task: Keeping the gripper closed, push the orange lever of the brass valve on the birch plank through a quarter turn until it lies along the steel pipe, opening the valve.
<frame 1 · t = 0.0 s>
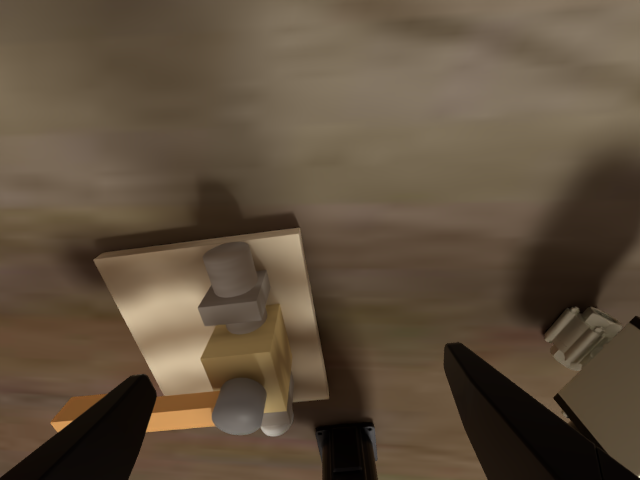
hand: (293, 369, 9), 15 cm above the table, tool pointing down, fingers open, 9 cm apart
valve lever: (165, 413, 20), point 8 cm above the table, hinge at 0.0°
pneumatic valve: (570, 324, 27), on the table
valve plank: (229, 328, 27), on the table
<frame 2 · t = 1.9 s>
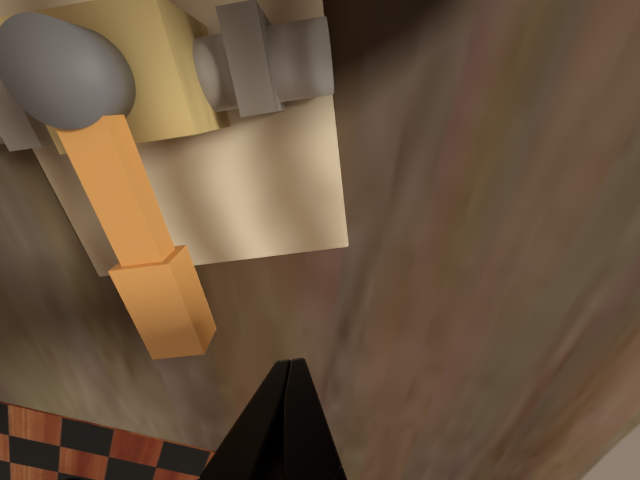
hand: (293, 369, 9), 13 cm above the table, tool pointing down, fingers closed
valve lever: (133, 219, 12), point 8 cm above the table, hinge at 0.0°
valve plank: (191, 141, 18), on the table
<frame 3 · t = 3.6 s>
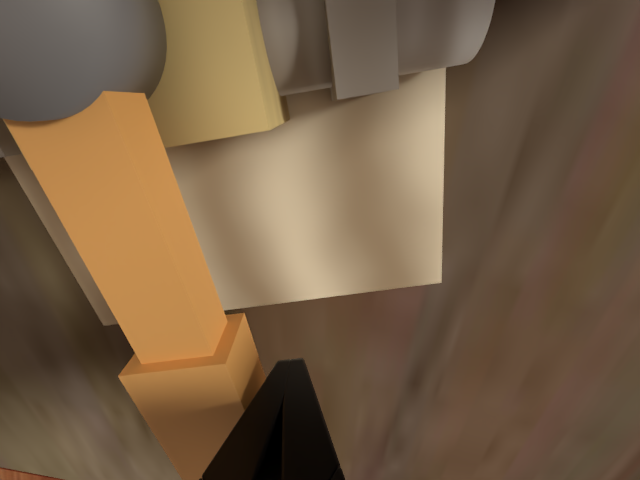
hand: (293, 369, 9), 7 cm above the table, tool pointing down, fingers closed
valve lever: (160, 283, 7), point 8 cm above the table, hinge at 0.0°, touching gripper
valve plank: (229, 143, 13), on the table
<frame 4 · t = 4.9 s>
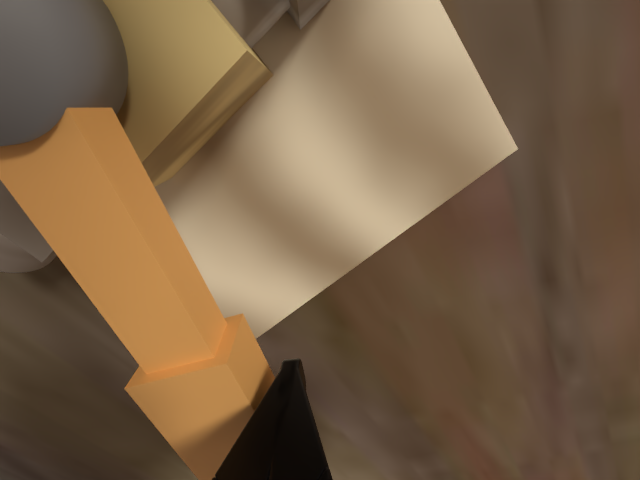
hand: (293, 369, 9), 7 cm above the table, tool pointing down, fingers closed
valve lever: (154, 292, 7), point 8 cm above the table, hinge at -24.1°, touching gripper
valve plank: (236, 138, 13), on the table
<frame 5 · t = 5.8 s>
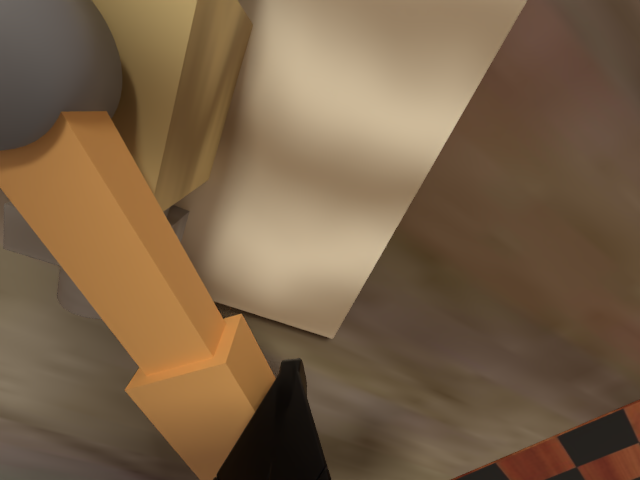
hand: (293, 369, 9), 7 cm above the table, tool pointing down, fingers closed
valve lever: (152, 293, 7), point 8 cm above the table, hinge at -49.2°, touching gripper
valve plank: (249, 115, 13), on the table
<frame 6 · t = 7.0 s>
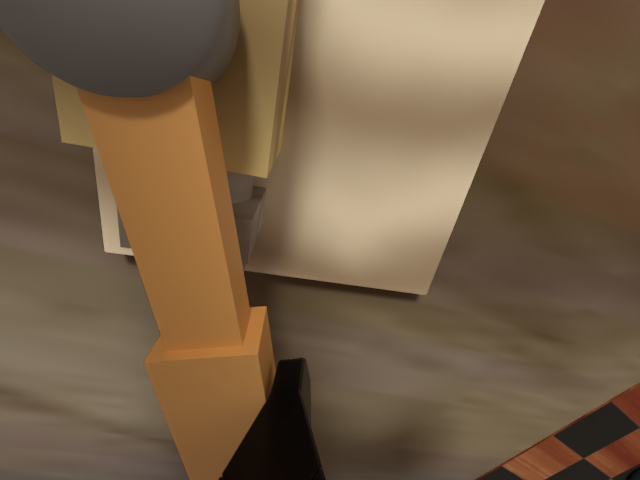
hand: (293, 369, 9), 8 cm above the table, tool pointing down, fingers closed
valve lever: (196, 270, 7), point 8 cm above the table, hinge at -76.9°, touching gripper
valve plank: (306, 75, 12), on the table
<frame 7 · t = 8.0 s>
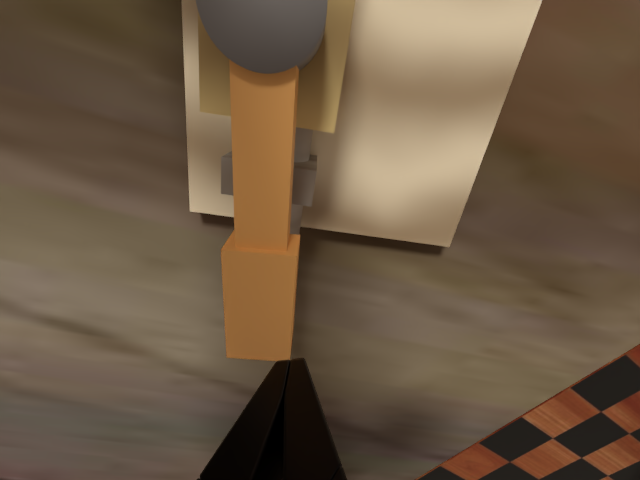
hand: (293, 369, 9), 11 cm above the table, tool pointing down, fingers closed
valve lever: (264, 194, 10), point 8 cm above the table, hinge at -86.9°
valve plank: (349, 62, 15), on the table
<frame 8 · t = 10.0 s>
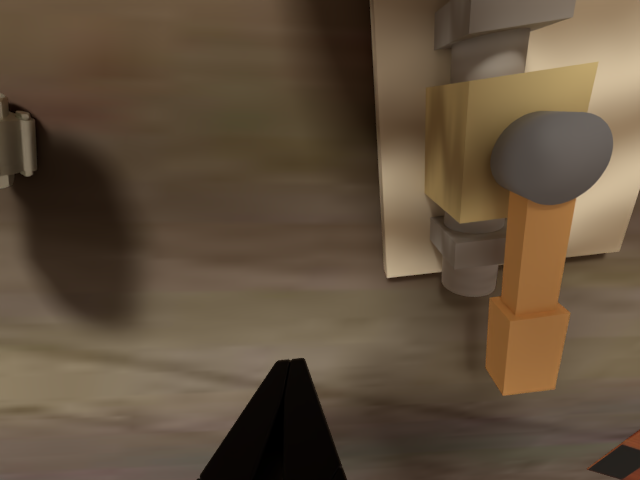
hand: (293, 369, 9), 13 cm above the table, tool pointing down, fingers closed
valve lever: (531, 273, 13), point 8 cm above the table, hinge at -86.9°
pneumatic valve: (6, 133, 18), on the table
valve plank: (507, 129, 18), on the table
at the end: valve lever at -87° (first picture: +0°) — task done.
